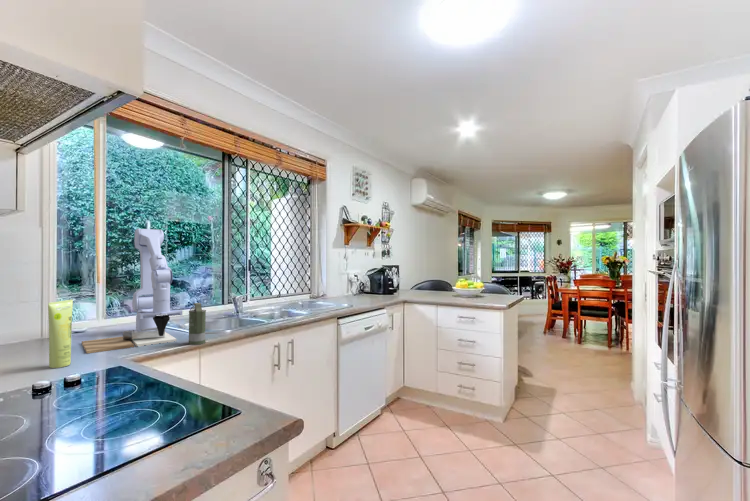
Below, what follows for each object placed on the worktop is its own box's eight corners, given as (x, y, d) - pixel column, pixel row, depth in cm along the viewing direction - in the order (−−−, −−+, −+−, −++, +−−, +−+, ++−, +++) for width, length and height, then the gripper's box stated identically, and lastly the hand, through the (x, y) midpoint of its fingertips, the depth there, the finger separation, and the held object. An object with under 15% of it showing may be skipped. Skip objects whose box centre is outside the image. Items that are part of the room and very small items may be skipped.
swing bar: (122, 340, 139) (122, 332, 139) (123, 338, 143) (123, 331, 143) (164, 336, 146) (164, 329, 146) (165, 335, 149) (165, 328, 149)
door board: (127, 338, 148) (127, 329, 148) (164, 333, 157) (164, 325, 157) (137, 346, 135) (137, 337, 135) (176, 341, 144) (176, 332, 144)
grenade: (186, 342, 142) (187, 303, 142) (203, 340, 146) (204, 301, 146) (190, 345, 137) (190, 304, 137) (207, 343, 141) (208, 303, 141)
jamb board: (81, 343, 139) (81, 340, 139) (127, 338, 148) (127, 335, 148) (86, 353, 125) (86, 350, 125) (136, 346, 135) (136, 343, 135)
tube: (69, 367, 110) (70, 301, 111) (46, 370, 108) (48, 302, 108) (71, 362, 115) (72, 299, 115) (50, 365, 112) (51, 300, 113)
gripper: (142, 302, 137) (141, 340, 136) (184, 299, 146) (184, 334, 146) (138, 301, 142) (137, 336, 142) (179, 298, 152) (179, 331, 151)
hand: (161, 335), depth 144 cm, fingers closed
